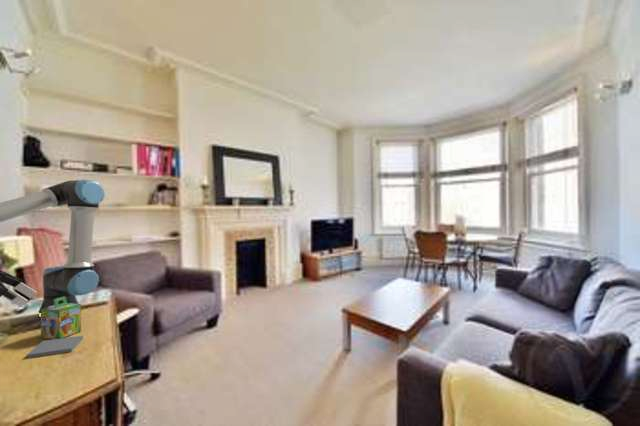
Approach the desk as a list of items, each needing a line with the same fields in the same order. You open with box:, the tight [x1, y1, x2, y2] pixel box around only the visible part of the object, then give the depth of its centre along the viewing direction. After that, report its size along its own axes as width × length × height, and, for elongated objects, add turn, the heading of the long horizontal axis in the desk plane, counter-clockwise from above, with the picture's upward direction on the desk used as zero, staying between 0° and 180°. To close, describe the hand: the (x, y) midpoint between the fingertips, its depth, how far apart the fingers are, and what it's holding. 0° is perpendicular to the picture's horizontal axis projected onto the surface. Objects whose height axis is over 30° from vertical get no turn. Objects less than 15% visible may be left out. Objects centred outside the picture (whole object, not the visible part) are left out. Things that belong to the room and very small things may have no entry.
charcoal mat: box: [26, 335, 84, 359], centre depth 108 cm, size 12×12×1 cm
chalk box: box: [40, 297, 82, 340], centre depth 119 cm, size 9×9×15 cm
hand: (29, 299), depth 114 cm, fingers open, 13 cm apart
